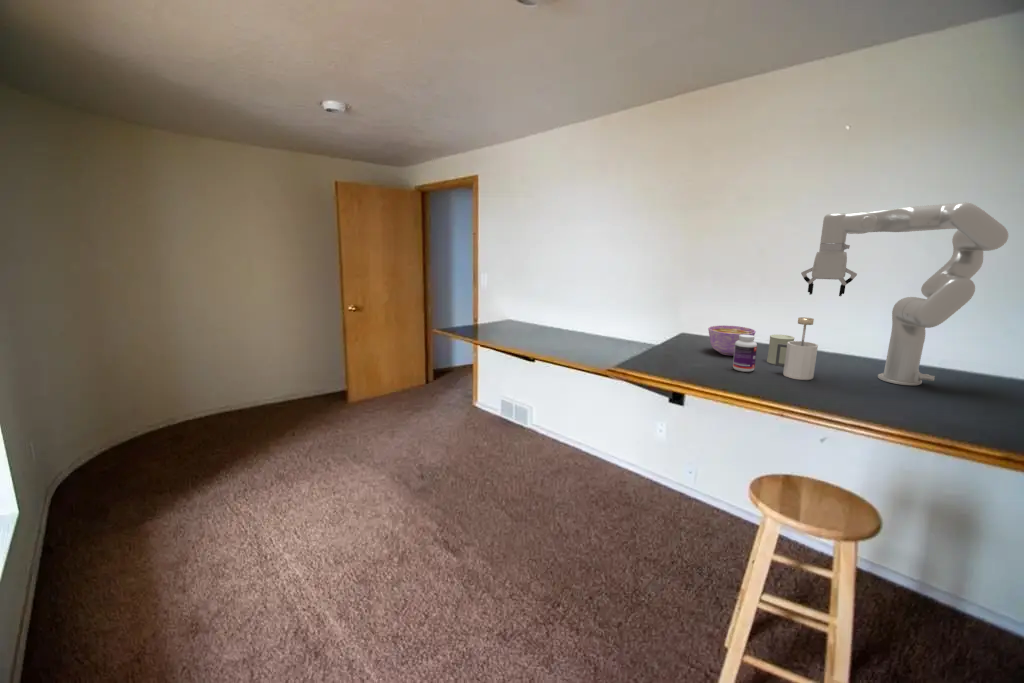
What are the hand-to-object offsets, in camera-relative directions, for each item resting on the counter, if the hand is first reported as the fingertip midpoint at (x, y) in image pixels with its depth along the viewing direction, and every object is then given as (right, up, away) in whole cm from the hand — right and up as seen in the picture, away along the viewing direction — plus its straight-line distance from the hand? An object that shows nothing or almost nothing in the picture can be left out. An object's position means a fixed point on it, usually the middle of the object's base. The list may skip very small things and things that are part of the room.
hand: (825, 294), depth 168 cm
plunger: (-5, -22, +6) cm, 24 cm away
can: (-1, -27, +27) cm, 38 cm away
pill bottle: (-22, -30, +17) cm, 41 cm away
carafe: (-7, -31, +9) cm, 33 cm away
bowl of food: (-16, -23, +43) cm, 51 cm away
